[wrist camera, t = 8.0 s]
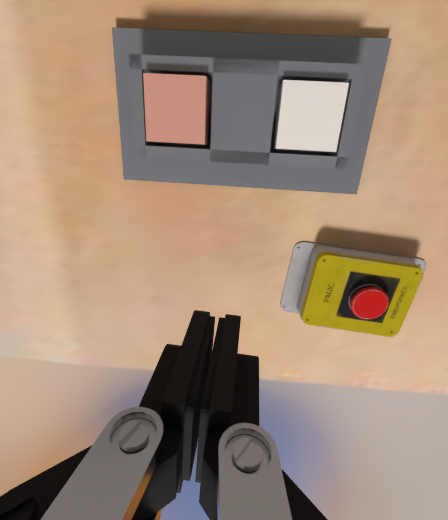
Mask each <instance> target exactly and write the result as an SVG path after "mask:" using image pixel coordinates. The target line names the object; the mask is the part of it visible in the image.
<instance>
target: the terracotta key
mask: <svg viewBox="0 0 448 520" xmlns="http://www.w3.org/2000/svg"><path fill="white" fill-rule="evenodd" d="M143 80H144V101H145V122H146V141H150V142H168V143H185V144H203V145H205V144H209V129H210V95H211V82H210V81H209V79H208V78H207V76H198V75H177V74H155V73H143Z"/></svg>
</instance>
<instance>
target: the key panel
mask: <svg viewBox="0 0 448 520" xmlns="http://www.w3.org/2000/svg"><path fill="white" fill-rule="evenodd" d="M112 33H113V46H114V59H115V71H116V84H117V97H118V109H119V122H120V135H121V147H122V160H123V173H124V179H126V180H142V181H157V182H173V183H189V184H205V185H220V186H236V187H252V188H268V189H283V190H299V191H315V192H331V193H346V194H357V190H358V186H359V181H360V177H361V172H362V168H363V163H364V159H365V154H366V150H367V146H368V141H369V137H370V132H371V128H372V123H373V119H374V114H375V110H376V105H377V101H378V97H379V92H380V88H381V83H382V79H383V74H384V70H385V65H386V61H387V56H388V52H389V48H390V43H391V38H366V37H340V36H315V35H289V34H264V33H239V32H213V31H188V30H163V29H137V28H112ZM143 73H155V74H177V75H198V76H207V78H208V79H209V81H210V82H211V95H210V129H209V144H205V145H203V144H185V143H168V142H150V141H146V122H145V101H144V80H143ZM283 80H300V81H322V82H343V83H349V86H348V91H347V97H346V102H345V107H344V113H343V118H342V124H341V129H340V134H339V140H338V145H337V150H336V152H326V151H308V150H291V149H275V148H273V140H274V131H275V122H276V112H277V103H278V94H279V86H280V84H281V83H282V81H283Z"/></svg>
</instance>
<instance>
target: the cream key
mask: <svg viewBox="0 0 448 520" xmlns="http://www.w3.org/2000/svg"><path fill="white" fill-rule="evenodd" d="M348 86H349V83H343V82H322V81H300V80H283V81H282V83H281V84H280V86H279V94H278V103H277V112H276V122H275V131H274V140H273V148H275V149H291V150H308V151H326V152H336V150H337V145H338V140H339V134H340V129H341V124H342V118H343V113H344V107H345V102H346V97H347V91H348Z"/></svg>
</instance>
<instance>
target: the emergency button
mask: <svg viewBox="0 0 448 520" xmlns="http://www.w3.org/2000/svg"><path fill="white" fill-rule="evenodd" d="M425 267H426V264H425V262H424V261H423V260H421V259H419V258H413V257H406V256H399V255H392V254H385V253H378V252H372V251H365V250H358V249H351V248H344V247H337V246H330V245H323V244H317V243H310V242H299V243H297V244H296V245H295V246H294V248H293V252H292V256H291V260H290V265H289V269H288V273H287V277H286V282H285V286H284V290H283V294H282V298H281V303H280V305H281V308H282V309H283V310H284V311H287V312H293V313H299V314H300V316H301V319H302V320H303V322H304V323H305V324H308V325H314V326H321V327H328V328H334V329H341V330H347V331H354V332H361V333H367V334H374V335H381V336H387V337H393V336H395V335H397V333H398V332H399V330H400V328H401V326H402V324H403V321H404V319H405V317H406V315H407V312H408V310H409V308H410V306H411V303H412V301H413V299H414V297H415V294H416V292H417V290H418V288H419V285H420V283H421V281H422V278H423V274H424V273H423V272H424V270H425Z"/></svg>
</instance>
